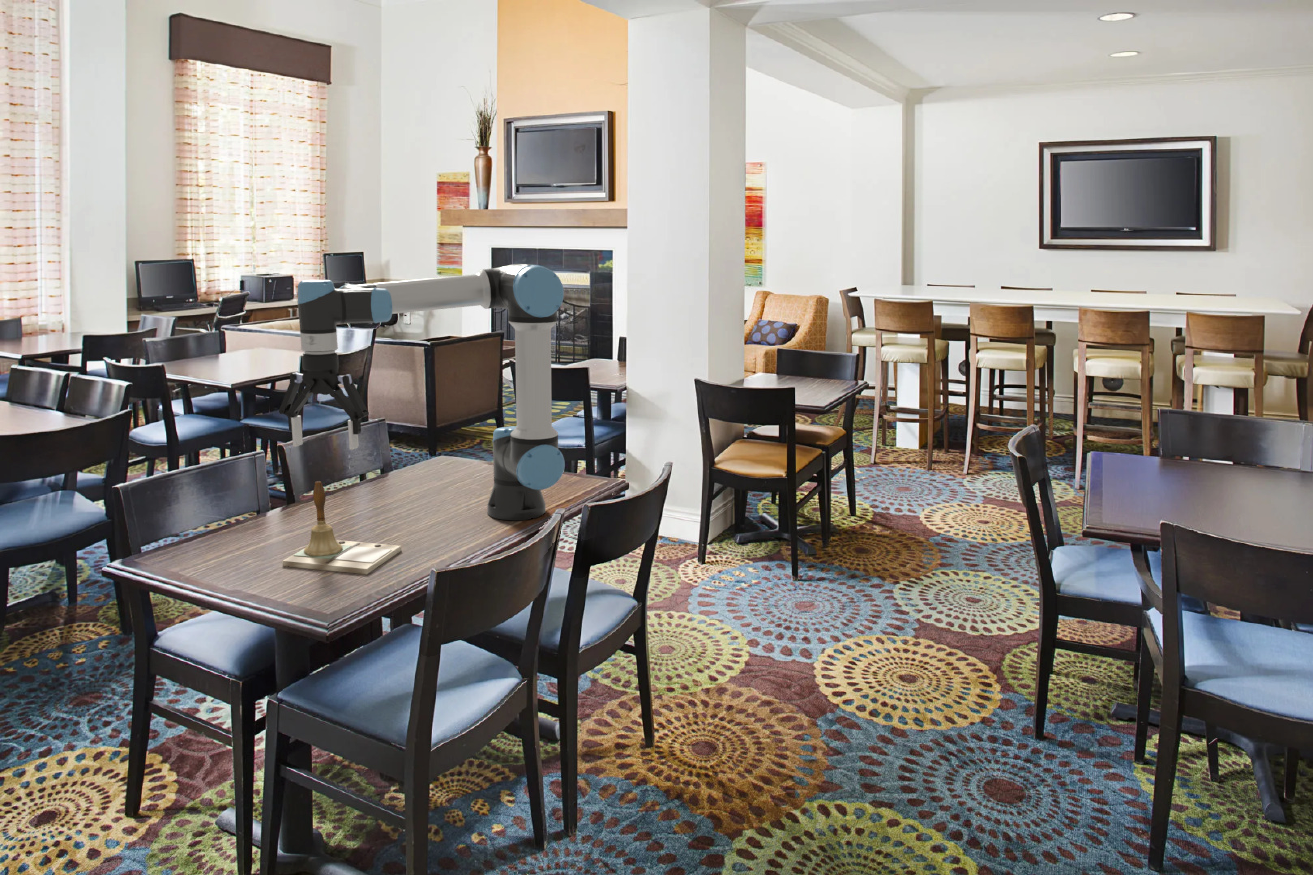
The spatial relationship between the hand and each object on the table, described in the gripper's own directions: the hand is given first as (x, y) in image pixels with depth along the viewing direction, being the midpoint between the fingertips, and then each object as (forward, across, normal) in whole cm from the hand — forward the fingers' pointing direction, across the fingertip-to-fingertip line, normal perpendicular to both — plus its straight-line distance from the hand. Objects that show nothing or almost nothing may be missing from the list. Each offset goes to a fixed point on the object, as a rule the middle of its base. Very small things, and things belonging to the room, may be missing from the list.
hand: (326, 447), depth 214 cm
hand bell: (+24, -1, -3) cm, 24 cm away
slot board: (+25, +4, -3) cm, 25 cm away
